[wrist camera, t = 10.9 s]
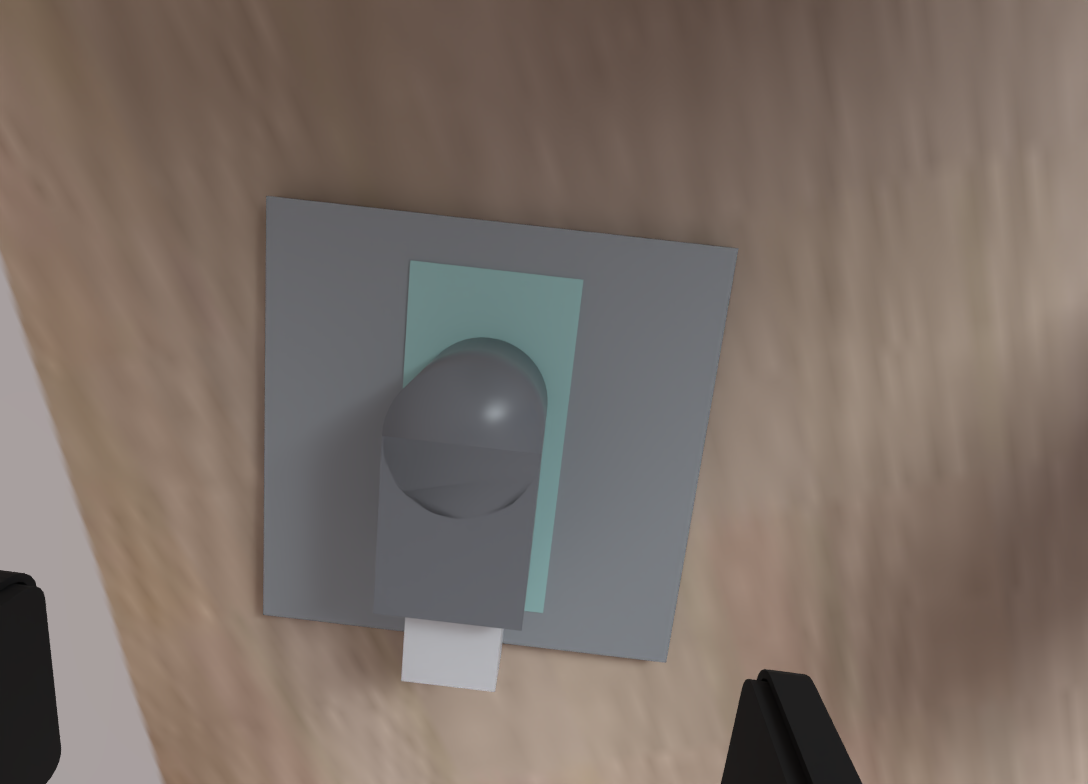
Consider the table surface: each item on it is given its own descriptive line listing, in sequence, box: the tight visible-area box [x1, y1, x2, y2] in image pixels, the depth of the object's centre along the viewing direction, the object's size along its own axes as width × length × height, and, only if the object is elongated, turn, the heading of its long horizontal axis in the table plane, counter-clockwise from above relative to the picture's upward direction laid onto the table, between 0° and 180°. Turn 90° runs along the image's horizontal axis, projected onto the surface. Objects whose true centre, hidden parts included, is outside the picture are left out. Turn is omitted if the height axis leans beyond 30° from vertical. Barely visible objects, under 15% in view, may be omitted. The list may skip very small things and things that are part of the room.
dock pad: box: [263, 196, 738, 663], centre depth 22 cm, size 14×14×1 cm
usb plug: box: [373, 337, 548, 692], centre depth 20 cm, size 10×4×4 cm, turn 174°
